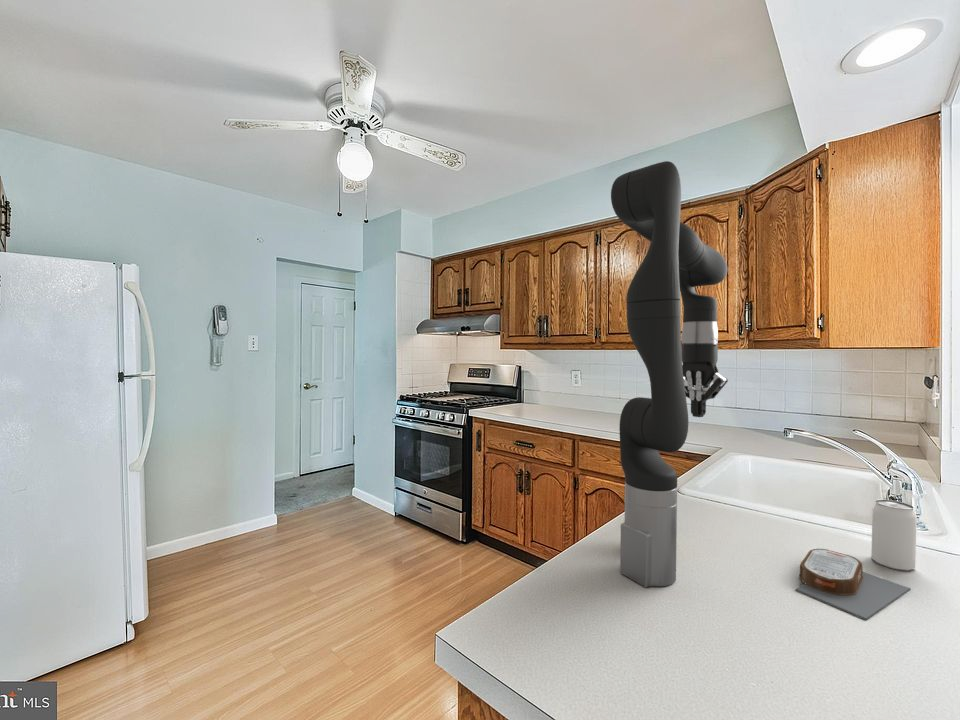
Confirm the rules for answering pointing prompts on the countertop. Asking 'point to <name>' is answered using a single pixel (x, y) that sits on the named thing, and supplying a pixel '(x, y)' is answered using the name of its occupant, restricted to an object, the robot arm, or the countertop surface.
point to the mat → (861, 596)
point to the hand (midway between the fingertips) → (698, 416)
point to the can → (894, 535)
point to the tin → (831, 572)
